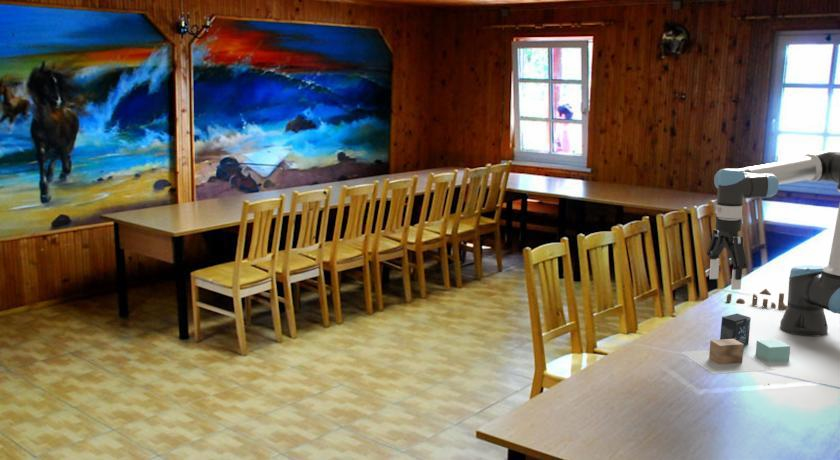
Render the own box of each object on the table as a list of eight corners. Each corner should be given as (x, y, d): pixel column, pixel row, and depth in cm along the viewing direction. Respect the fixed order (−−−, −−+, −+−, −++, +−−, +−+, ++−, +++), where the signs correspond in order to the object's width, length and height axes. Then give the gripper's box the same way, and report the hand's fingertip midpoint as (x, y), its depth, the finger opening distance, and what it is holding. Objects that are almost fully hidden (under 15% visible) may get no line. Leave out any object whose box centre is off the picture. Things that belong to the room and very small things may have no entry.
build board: (736, 351, 264) (737, 348, 264) (773, 373, 245) (773, 369, 245) (680, 355, 261) (680, 352, 260) (712, 377, 241) (712, 374, 241)
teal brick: (775, 357, 259) (776, 339, 258) (788, 364, 253) (790, 346, 252) (755, 358, 258) (756, 340, 257) (768, 366, 252) (769, 347, 250)
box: (733, 351, 264) (735, 320, 262) (718, 347, 269) (721, 316, 267) (748, 347, 268) (751, 317, 266) (734, 343, 273) (736, 312, 271)
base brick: (732, 356, 256) (733, 338, 255) (742, 362, 251) (743, 344, 249) (709, 358, 254) (710, 340, 253) (718, 364, 249) (719, 345, 248)
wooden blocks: (809, 312, 310) (811, 293, 309) (809, 314, 308) (811, 295, 306) (727, 300, 325) (729, 282, 323) (726, 302, 322) (727, 284, 321)
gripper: (698, 212, 265) (694, 275, 269) (738, 225, 241) (734, 294, 245) (719, 211, 266) (715, 274, 270) (762, 224, 242) (757, 293, 246)
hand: (724, 283), depth 258 cm, fingers open, 13 cm apart
